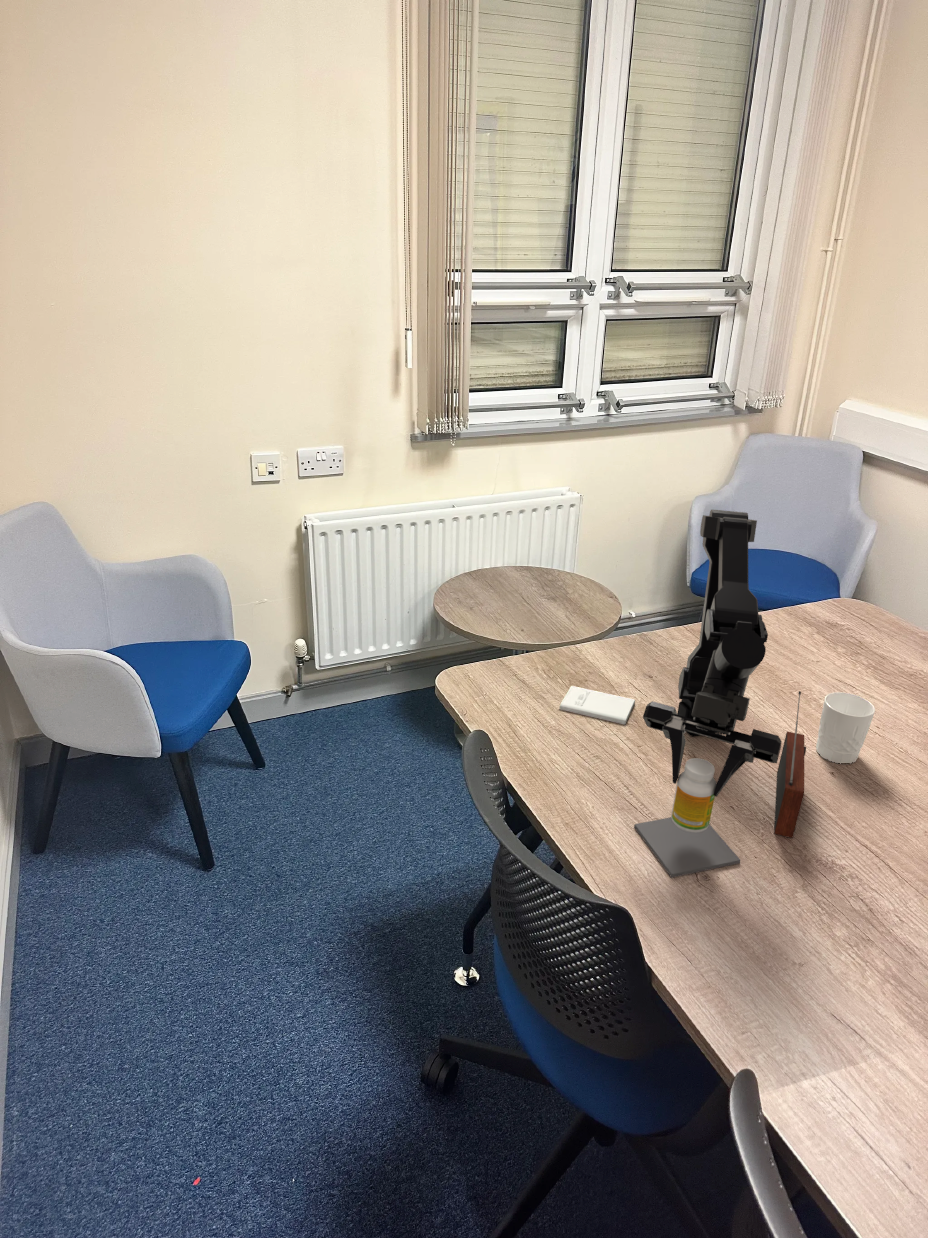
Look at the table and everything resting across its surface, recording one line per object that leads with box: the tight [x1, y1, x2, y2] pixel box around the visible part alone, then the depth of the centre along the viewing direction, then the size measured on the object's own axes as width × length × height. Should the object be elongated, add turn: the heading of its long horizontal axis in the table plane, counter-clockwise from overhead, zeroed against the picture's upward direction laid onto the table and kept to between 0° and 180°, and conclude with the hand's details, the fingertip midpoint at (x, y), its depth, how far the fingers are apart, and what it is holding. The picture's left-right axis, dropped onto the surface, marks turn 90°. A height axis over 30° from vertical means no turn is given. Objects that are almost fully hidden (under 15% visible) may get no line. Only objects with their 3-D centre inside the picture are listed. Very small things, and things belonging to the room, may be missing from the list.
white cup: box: [815, 691, 876, 765], centre depth 143 cm, size 8×8×10 cm
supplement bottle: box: [671, 757, 717, 832], centre depth 118 cm, size 5×5×10 cm
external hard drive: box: [559, 685, 636, 726], centre depth 156 cm, size 2×8×12 cm
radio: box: [773, 690, 807, 839], centre depth 129 cm, size 19×3×15 cm, turn 160°
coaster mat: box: [633, 817, 741, 878], centre depth 122 cm, size 11×11×1 cm
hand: (694, 789), depth 116 cm, fingers closed on supplement bottle, 5 cm apart
